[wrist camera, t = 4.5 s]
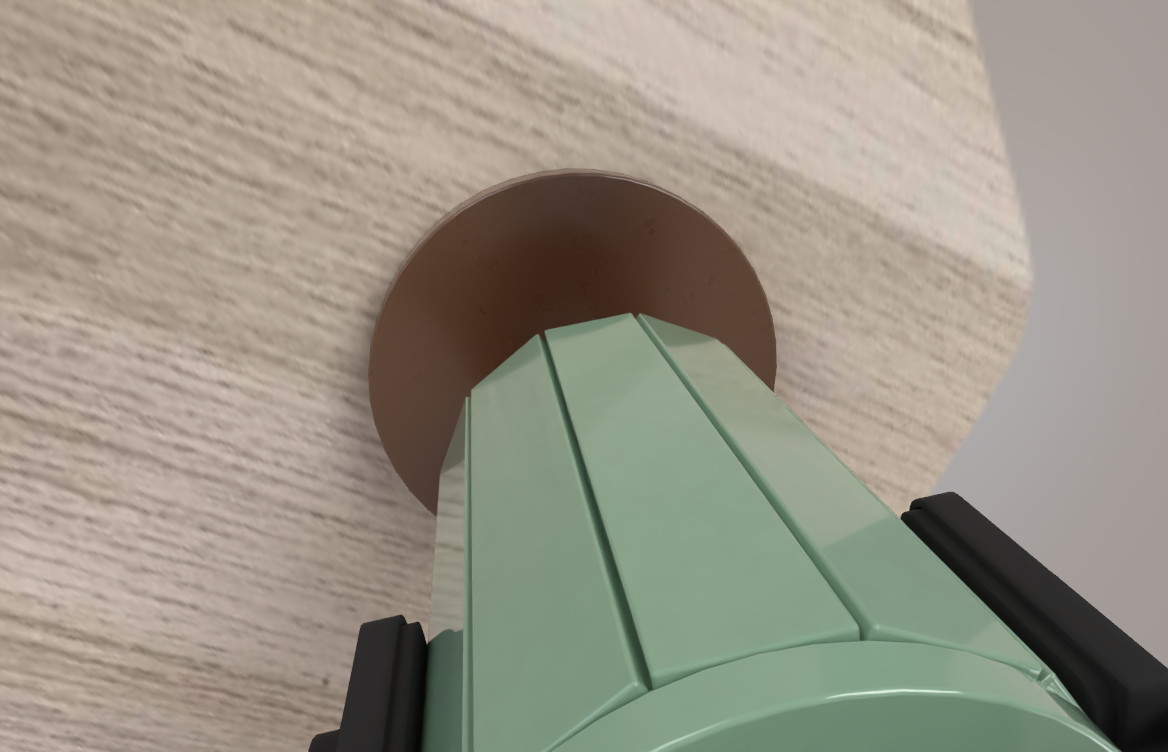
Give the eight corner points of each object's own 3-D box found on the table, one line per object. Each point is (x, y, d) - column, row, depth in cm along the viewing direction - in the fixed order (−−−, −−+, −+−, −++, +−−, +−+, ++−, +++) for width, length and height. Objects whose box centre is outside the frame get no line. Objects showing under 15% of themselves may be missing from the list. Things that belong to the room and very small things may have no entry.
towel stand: (743, 132, 21) (1459, 249, 6) (777, 497, 25) (1257, 1132, 10) (323, 212, 20) (-109, 581, 5) (426, 574, 24) (355, 1395, 9)
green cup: (763, 285, 15) (1230, 599, 6) (789, 581, 18) (1149, 1138, 8) (407, 356, 15) (302, 821, 5) (485, 651, 17) (504, 1325, 8)
